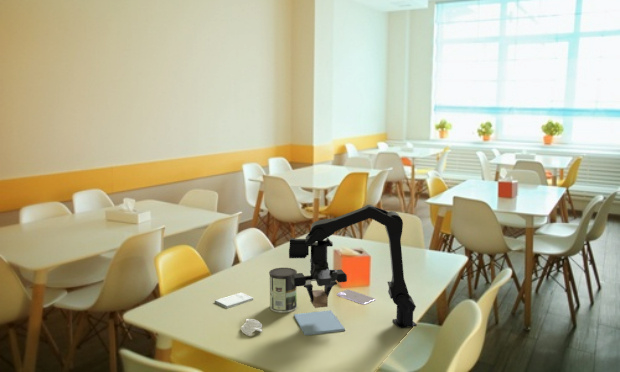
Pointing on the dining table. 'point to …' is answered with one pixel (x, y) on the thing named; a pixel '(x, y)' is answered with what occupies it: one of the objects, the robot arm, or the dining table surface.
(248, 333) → the white crumpled lump
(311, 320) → the mat
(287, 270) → the coffee can
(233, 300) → the external hard drive
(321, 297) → the walnut block
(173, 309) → the dining table surface
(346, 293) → the mobile phone
